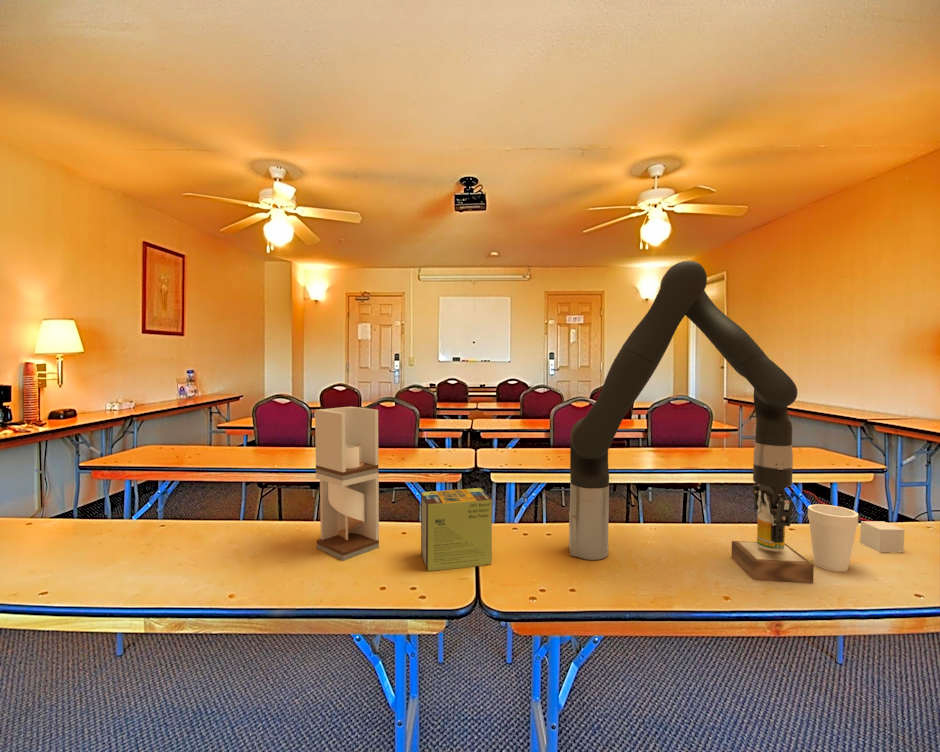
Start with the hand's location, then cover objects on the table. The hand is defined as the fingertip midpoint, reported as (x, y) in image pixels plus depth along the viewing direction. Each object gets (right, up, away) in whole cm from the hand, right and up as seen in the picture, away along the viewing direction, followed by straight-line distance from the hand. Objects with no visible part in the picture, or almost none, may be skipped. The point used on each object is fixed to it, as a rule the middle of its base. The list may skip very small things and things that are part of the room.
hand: (770, 536), depth 111 cm
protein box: (-72, -7, +6) cm, 72 cm away
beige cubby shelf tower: (-99, -7, +12) cm, 100 cm away
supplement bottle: (0, -3, 0) cm, 3 cm away
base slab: (0, -8, 0) cm, 8 cm away
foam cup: (+15, -8, +2) cm, 17 cm away
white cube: (+36, -7, +13) cm, 39 cm away
